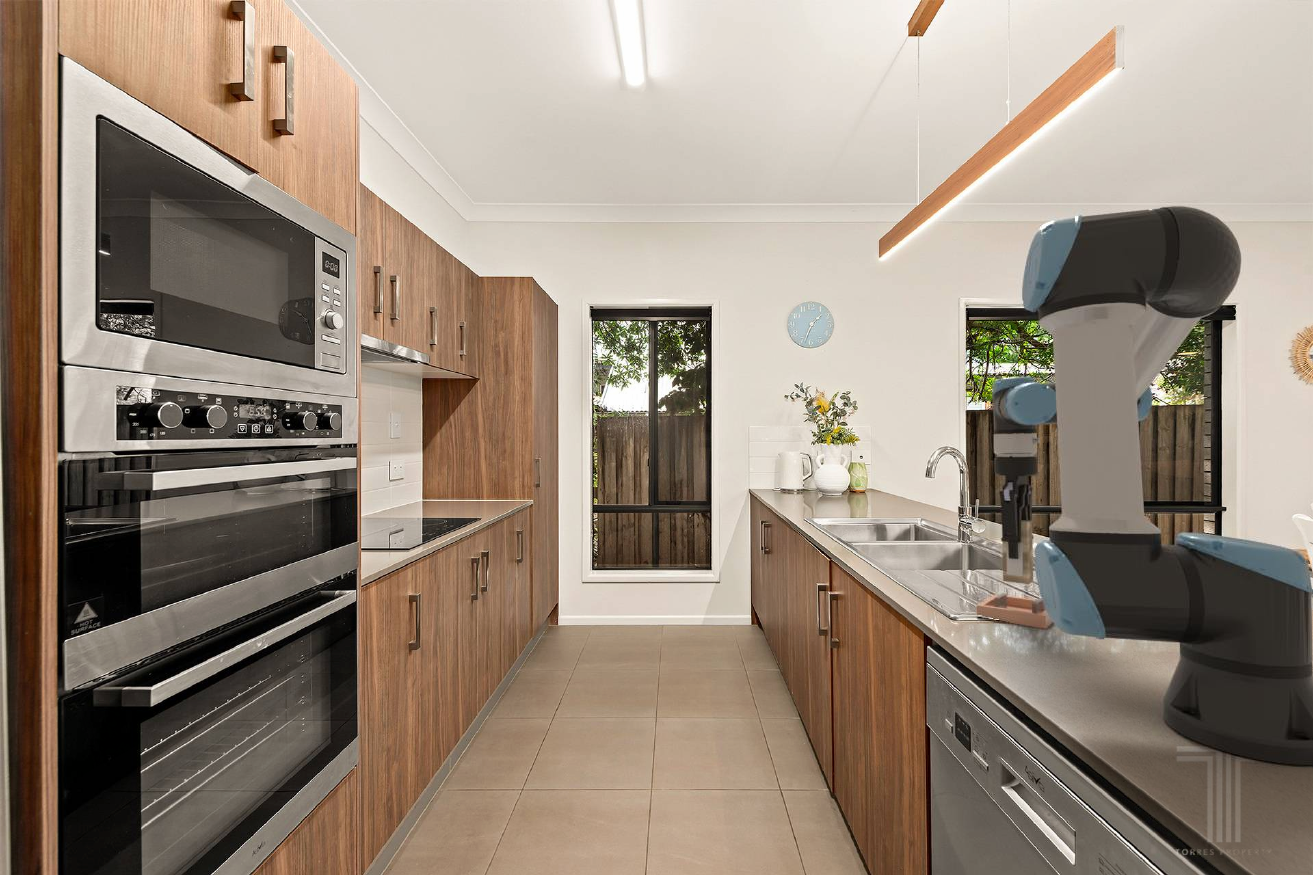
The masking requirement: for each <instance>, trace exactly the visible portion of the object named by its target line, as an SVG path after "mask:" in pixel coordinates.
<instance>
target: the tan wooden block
mask: <svg viewBox="0 0 1313 875" xmlns="http://www.w3.org/2000/svg"><path fill="white" fill-rule="evenodd" d="M1032 535H1033V520H1032V521H1030V520H1021V541H1020V542H1023V576H1016V575H1008V574H1007V552H1006V541H1001V542H1002V544H1001V545H1002V546H1001V547H1002V581H1003V582H1007V583H1009V582H1010V583H1017V584H1022V585H1023V584H1025V585H1029V584H1031V583H1033V582H1034V552H1033V551H1034V548H1033V547H1034V544H1033V540H1034V537H1033V538H1032ZM1001 538H1003V537H1002V536H1001Z"/></svg>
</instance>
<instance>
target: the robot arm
mask: <svg viewBox="0 0 1313 875" xmlns="http://www.w3.org/2000/svg"><path fill="white" fill-rule="evenodd" d="M1241 267H1242V253H1241V249H1240V245H1239V243H1238V240H1237V238H1236V236H1235V235H1234V232H1232V230H1231V229H1230V228H1229V226H1228V225H1226V224H1225V222H1223V221H1222V220H1221V219H1220V218H1219V217H1216V215H1214V214H1211V213H1210V212H1206V211H1205V210H1202V209H1198V208H1196V207H1189V206H1184V205H1183V206H1181V205H1176V206H1175V205H1171V206H1163V207H1158V208H1151V209H1143V210H1142V209H1141V210H1132V211H1121V212H1113V213H1112V212H1111V213H1103V214H1094V215H1085V216H1082V215H1081V214H1079V215H1076V216H1075V217H1069V218H1064V219H1058V220H1051V221H1049V222H1046V223H1044V224H1043V225H1041V226H1040V228H1039V229H1038V230H1037V231H1036V233H1035V235H1034V236H1033V238H1032V241H1031V243H1030V245H1029V250H1028V253H1027V256H1026V261H1025V267H1024V271H1023V272H1024V273H1023V278H1022V287H1021V290H1022V291H1021V298H1022V299H1021V300H1022V302H1023V303H1022V305H1023V308H1024V310H1026V311H1030V312H1032V313H1035V312H1036V311H1037V312H1038V326H1039V327H1040V328H1042V329H1043V330H1045V331H1046V332H1048V333H1049V334H1050V335H1051V336H1052V346H1053V363H1054V365H1053V366H1054V367H1053V368H1054V382H1049V383H1048V382H1046V383H1045V382H1044V383H1042V382H1039V381H1038V382H1037V381H1036V380H1035V379H1034V378H1033V377H1030V376H1014V377H1013V376H1011V377H1004V378H998V379H996V380H995V381H994V382H993V386H992V394H991V398H992V405H993V406H992V410H993V453H994V454H996V456H995V458H994V459H993V462H994V463H993V465H994V474H995V475H997V476H1003V477H1004V478H1005V479H1004V484H1002V489H999V499H1000V512H1001V537H1000V539H1001V542H1002V541H1006V552H1007V574H1008V575H1016V576H1023V542H1020V541H1021V520H1030V521H1032V522H1033V519H1032V516H1033V515H1032V513H1033V512H1032V511H1033V510H1032V496H1033V486H1032V485H1030V484H1029V482H1028V478H1027V477H1031V476H1032V477H1033V476H1036V475H1038V473H1039V463H1038V462H1039V461H1038V460H1039V459H1038V458H1037V456H1034V455H1035V454H1037V453H1038V444H1040V443H1041V439H1040V438H1038V436H1037V433H1038V431H1037V430H1038V429H1037V425H1038V426H1039V425H1057V426H1056V427H1057V440H1058V441H1057V444H1058V461H1059V463H1058V465H1059V480H1060V481H1059V482H1060V502H1061V504H1060V505H1061V515H1060V516H1059V517H1058V519H1056V520H1055V521H1054V522H1053V523H1052V524H1051V525H1050V526H1049V527H1048V528H1049V529H1048V530H1049V540H1047V539H1046V540H1045V539H1044V540H1042V541H1039V542H1038V543H1037V544H1036V546H1035V547H1034V549H1035V550H1034V569H1035V577H1036V581H1037V582H1036V583H1037V585H1038V590H1039V593H1040V597H1041V599H1042V601H1043V603H1044V606H1045V609H1046V611H1047V613H1048V615H1049V617H1050V619H1051V620H1052V622H1053V623H1052V624H1054V626H1055V627H1056V628H1057V629H1059V630H1060V631H1061V632H1063V633H1065V634H1068V635H1072V636H1080V637H1081V636H1082V637H1088V638H1090V637H1091V638H1095V639H1098V640H1105V639H1117V640H1130V641H1146V642H1147V641H1148V642H1162V643H1163V642H1164V643H1178V644H1179V660H1178V663H1177V665H1176V667H1175V670H1174V673H1173V674H1172V678H1171V680H1170V682H1169V685H1168V687H1167V689H1166V692H1165V693H1164V694H1165V695H1164V696H1163V701H1162V705H1163V706H1162V707H1163V710H1162V711H1163V720H1164V722H1165V723H1166V724H1167V725H1168V726H1169V727H1170V728H1172V730H1174V731H1175V732H1177V733H1178V734H1180V735H1182V736H1184V737H1186V738H1189V739H1190V740H1193V741H1195V742H1198V743H1199V744H1202V745H1205V746H1207V747H1210V748H1213V749H1216V750H1219V751H1223V752H1226V753H1229V754H1233V755H1237V756H1240V757H1245V758H1249V759H1253V760H1259V761H1264V762H1270V763H1278V764H1284V765H1295V766H1297V765H1298V766H1299V765H1300V766H1313V610H1312V595H1313V587H1312V578H1311V573H1310V567H1309V563H1308V561H1307V558H1306V557H1305V556H1304V555H1303V554H1302V553H1300V552H1298V551H1296V550H1295V549H1291V548H1287V547H1285V546H1281V545H1276V544H1270V543H1267V542H1260V541H1255V540H1249V539H1242V538H1238V537H1237V538H1236V537H1231V536H1225V535H1224V536H1223V535H1216V534H1207V533H1199V532H1179V533H1178V534H1177V536H1176V538H1175V539H1174V543H1175V544H1162V530H1161V529H1160V528H1158V526H1156V525H1155V524H1154V523H1152V522H1151V521H1150V520H1149V519H1148V518H1147V516H1146V515H1145V509H1144V508H1145V507H1144V492H1143V478H1142V476H1143V475H1142V460H1141V447H1140V446H1141V443H1140V431H1139V430H1140V428H1139V422H1141V421H1143V420H1145V419H1147V417H1149V415H1150V413H1151V408H1152V405H1153V393H1152V389H1151V384H1152V383H1153V382H1154V381H1155V379H1156V378H1157V377H1158V375H1160V372H1161V371H1162V370H1163V369H1164V367H1165V366H1166V365H1167V364H1168V362H1169V361H1170V359H1171V358H1172V357H1173V355H1175V352H1176V351H1178V349H1179V347H1180V346H1181V345H1182V344H1183V343H1184V341H1185V340H1186V338H1187V337H1188V336H1189V334H1190V333H1191V332H1192V330H1193V329H1194V328H1195V326H1197V324H1198V323H1199V321H1200V320H1201V319H1202V318H1204V317H1208V316H1210V315H1211V314H1214V313H1215V312H1216V311H1217V310H1219V309H1220V308H1221V307H1222V305H1223V304H1224V303H1225V302H1226V300H1227V299H1228V298H1229V296H1230V295H1231V293H1232V292H1233V291H1234V289H1235V287H1236V285H1237V283H1238V279H1239V277H1240V275H1241V269H1242V268H1241ZM1002 537H1003V538H1002ZM1032 538H1033V539H1034V534H1032Z"/></svg>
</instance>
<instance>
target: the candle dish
mask: <svg viewBox="0 0 1313 875" xmlns="http://www.w3.org/2000/svg"><path fill="white" fill-rule="evenodd" d="M977 615H982V616H985V617H991V618H993V619H999V620H1002V621H1006V622H1005V623H1008V622H1009V623H1008V624H1014V625H1015V624H1016V625H1021V626H1027V627H1033V628H1039V629H1045V630H1046V629H1047V628H1049V627H1050V626H1051V625H1052V624H1054V623H1053V622H1052V620H1051V619H1050V617H1049V615H1048V613H1047V611H1046V609H1045V606H1044V603H1043V601H1042V598H1040V597H1038V598H1037V599H1034V598H1033V599H1032V598H1027V597H1026V598H1025V597H1020V596H1012V595H1008V594H1007V593H1006V592H1005V593H1004V592H1002V593H1000V594H997V593H995V594H994V595H991V596H990V597H988V598H986V599H985V600H983V601H981V602H980V603H978V604H976V616H977ZM1002 621H1001V622H1002Z"/></svg>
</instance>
